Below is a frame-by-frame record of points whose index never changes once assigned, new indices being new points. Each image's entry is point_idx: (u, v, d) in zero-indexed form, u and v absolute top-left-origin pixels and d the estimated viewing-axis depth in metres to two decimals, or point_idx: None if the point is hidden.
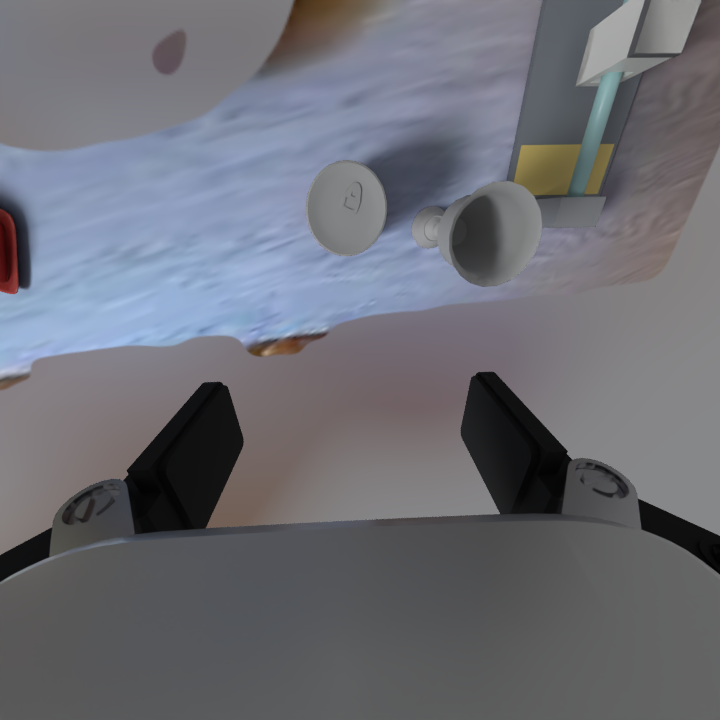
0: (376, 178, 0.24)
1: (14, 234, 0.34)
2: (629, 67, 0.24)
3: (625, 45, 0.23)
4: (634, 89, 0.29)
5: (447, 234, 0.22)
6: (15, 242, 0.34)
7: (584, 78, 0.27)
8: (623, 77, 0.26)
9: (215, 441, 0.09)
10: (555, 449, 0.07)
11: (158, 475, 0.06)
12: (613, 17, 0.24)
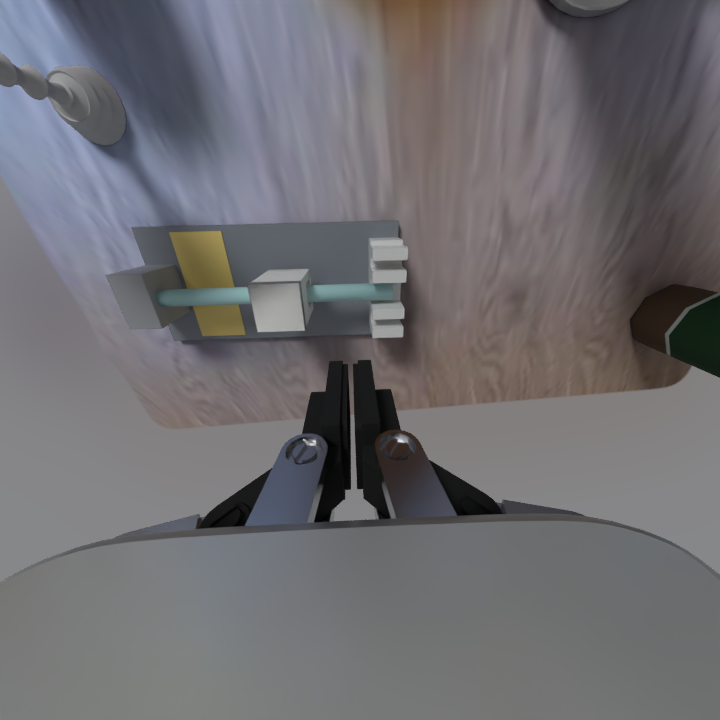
0: None
1: None
2: None
3: (263, 280, 0.22)
4: (286, 335, 0.32)
5: None
6: None
7: (268, 271, 0.26)
8: None
9: (348, 411, 0.10)
10: (371, 422, 0.07)
11: (341, 431, 0.08)
12: (301, 274, 0.25)
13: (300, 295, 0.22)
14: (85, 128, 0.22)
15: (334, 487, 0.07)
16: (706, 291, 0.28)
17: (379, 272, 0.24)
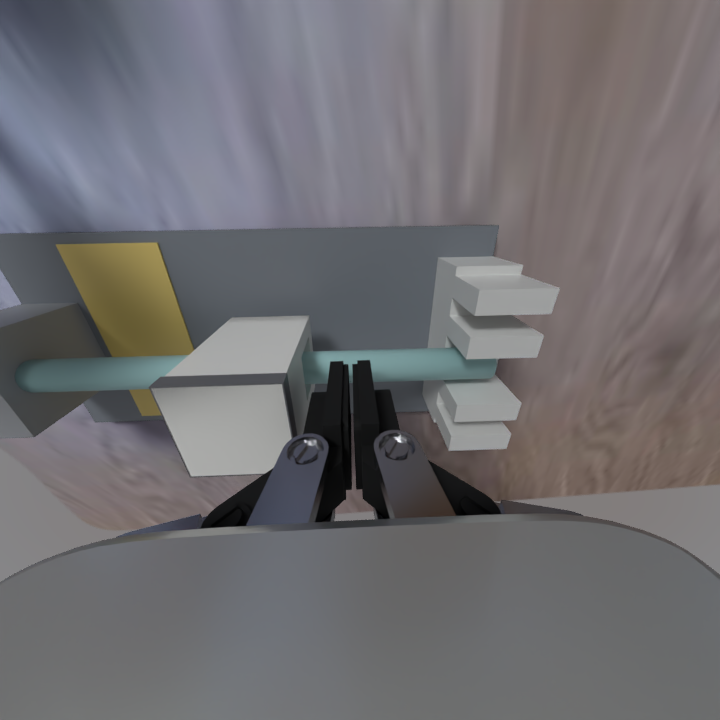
0: None
1: None
2: None
3: (200, 367, 0.09)
4: None
5: None
6: None
7: (228, 324, 0.13)
8: None
9: (349, 411, 0.10)
10: (370, 422, 0.07)
11: (342, 431, 0.08)
12: (291, 336, 0.12)
13: (286, 408, 0.09)
14: None
15: (335, 487, 0.07)
16: None
17: (484, 338, 0.11)
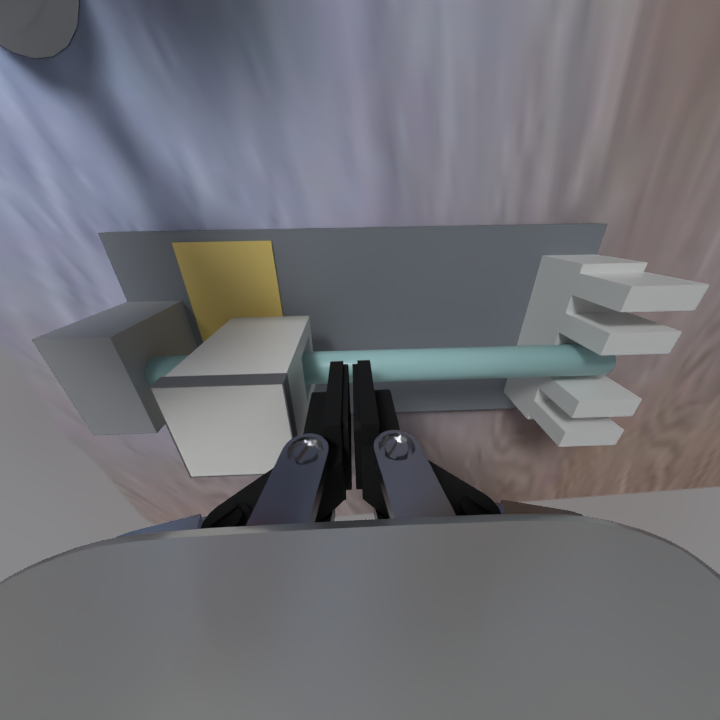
0: None
1: None
2: None
3: (200, 367, 0.09)
4: None
5: None
6: None
7: (228, 324, 0.13)
8: None
9: (349, 411, 0.10)
10: (370, 422, 0.07)
11: (342, 431, 0.08)
12: (292, 337, 0.12)
13: (286, 408, 0.09)
14: None
15: (335, 487, 0.07)
16: None
17: (623, 334, 0.11)
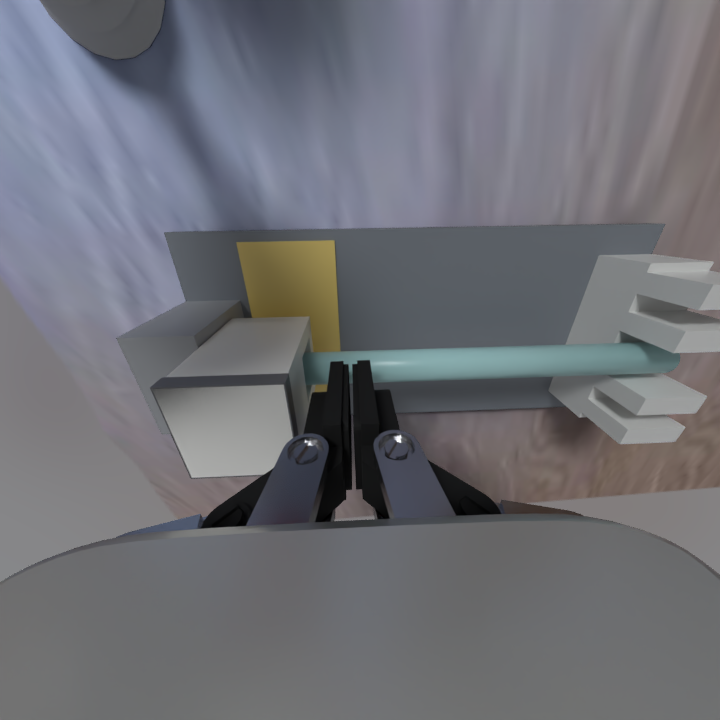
0: None
1: None
2: None
3: (201, 368, 0.09)
4: (409, 409, 0.19)
5: None
6: None
7: (228, 325, 0.13)
8: None
9: (349, 411, 0.10)
10: (370, 422, 0.07)
11: (342, 431, 0.08)
12: (292, 337, 0.12)
13: (288, 408, 0.09)
14: (74, 2, 0.09)
15: (335, 487, 0.07)
16: None
17: (698, 332, 0.11)
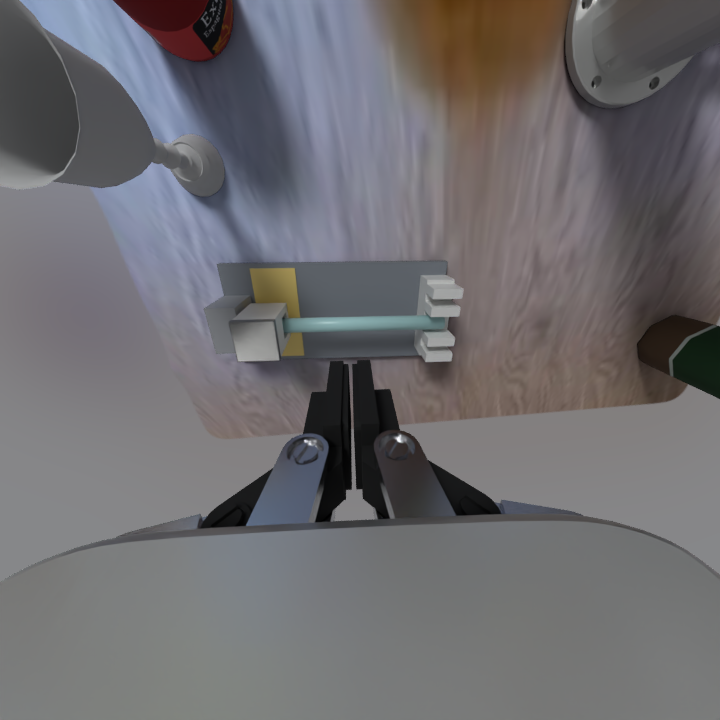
0: None
1: None
2: None
3: (243, 318, 0.26)
4: (340, 355, 0.36)
5: None
6: None
7: (249, 305, 0.30)
8: None
9: (349, 411, 0.10)
10: (370, 422, 0.07)
11: (342, 431, 0.08)
12: (277, 309, 0.28)
13: (275, 331, 0.25)
14: (194, 185, 0.26)
15: (335, 487, 0.07)
16: (703, 323, 0.33)
17: (437, 308, 0.28)
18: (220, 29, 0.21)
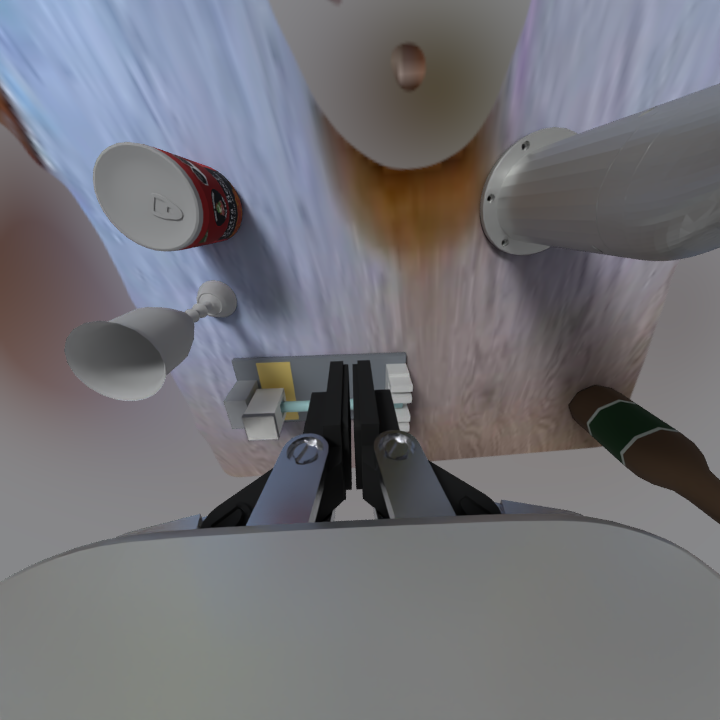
0: (190, 237, 0.23)
1: None
2: None
3: (252, 411, 0.36)
4: None
5: (121, 318, 0.21)
6: None
7: (256, 393, 0.40)
8: None
9: (349, 411, 0.10)
10: (370, 422, 0.07)
11: (342, 431, 0.08)
12: (276, 399, 0.38)
13: (274, 421, 0.35)
14: (215, 316, 0.36)
15: (335, 487, 0.07)
16: (612, 396, 0.42)
17: (394, 397, 0.38)
18: (234, 229, 0.31)
